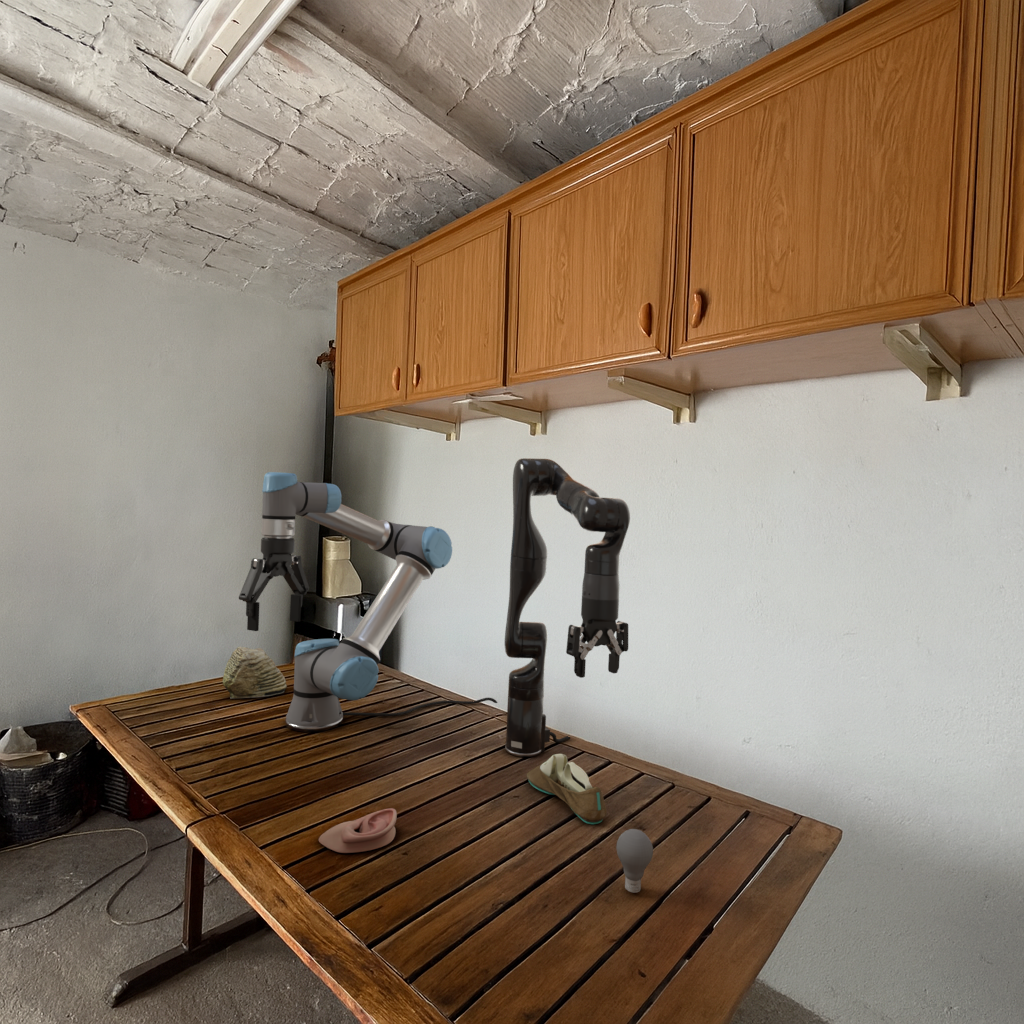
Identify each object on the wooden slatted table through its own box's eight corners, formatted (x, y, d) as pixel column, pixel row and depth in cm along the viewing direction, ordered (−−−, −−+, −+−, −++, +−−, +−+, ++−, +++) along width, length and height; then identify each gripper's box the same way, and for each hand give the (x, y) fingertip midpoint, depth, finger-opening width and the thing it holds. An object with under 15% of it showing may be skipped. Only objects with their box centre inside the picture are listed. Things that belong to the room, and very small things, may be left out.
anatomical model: (310, 826, 114) (340, 797, 125) (309, 848, 114) (339, 817, 125) (379, 837, 111) (403, 806, 122) (378, 859, 111) (403, 827, 123)
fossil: (218, 695, 195) (220, 647, 195) (278, 685, 208) (279, 640, 207) (228, 703, 189) (230, 653, 188) (289, 692, 201) (290, 645, 201)
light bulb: (610, 879, 108) (613, 822, 108) (644, 879, 109) (647, 822, 109) (619, 902, 102) (622, 840, 102) (655, 901, 103) (658, 840, 103)
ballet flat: (550, 774, 150) (552, 737, 150) (614, 822, 128) (617, 779, 128) (519, 780, 146) (521, 742, 146) (581, 831, 124) (583, 786, 124)
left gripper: (249, 540, 138) (245, 636, 139) (325, 536, 161) (322, 619, 162) (223, 537, 141) (220, 632, 142) (302, 534, 164) (299, 615, 165)
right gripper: (584, 599, 122) (580, 683, 122) (639, 596, 129) (635, 675, 130) (561, 594, 128) (557, 673, 129) (615, 591, 136) (611, 666, 136)
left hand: (274, 625), depth 152 cm, fingers open, 13 cm apart
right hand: (596, 674), depth 129 cm, fingers open, 8 cm apart
